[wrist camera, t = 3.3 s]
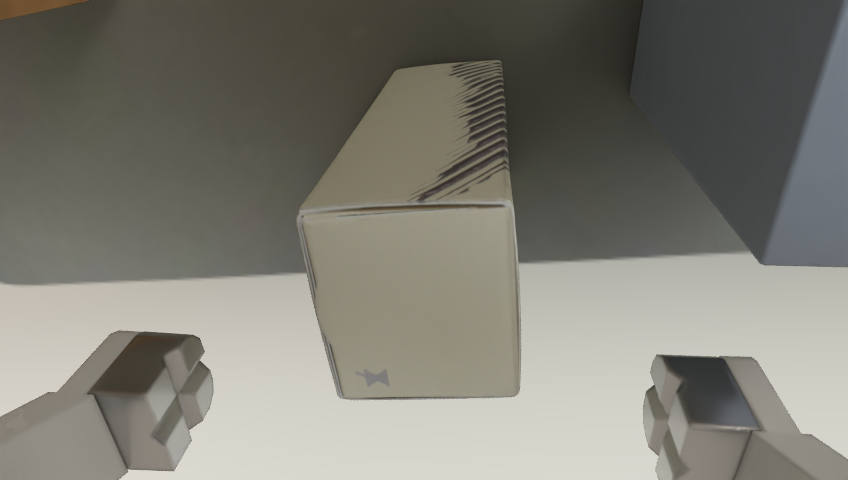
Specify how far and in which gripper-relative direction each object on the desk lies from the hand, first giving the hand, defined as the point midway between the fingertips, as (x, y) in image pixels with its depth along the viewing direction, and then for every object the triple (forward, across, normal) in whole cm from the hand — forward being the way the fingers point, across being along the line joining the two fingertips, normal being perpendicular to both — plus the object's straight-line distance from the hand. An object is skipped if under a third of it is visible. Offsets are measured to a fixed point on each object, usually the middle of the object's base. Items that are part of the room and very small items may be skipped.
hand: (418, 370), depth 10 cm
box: (+15, 0, 0) cm, 15 cm away
